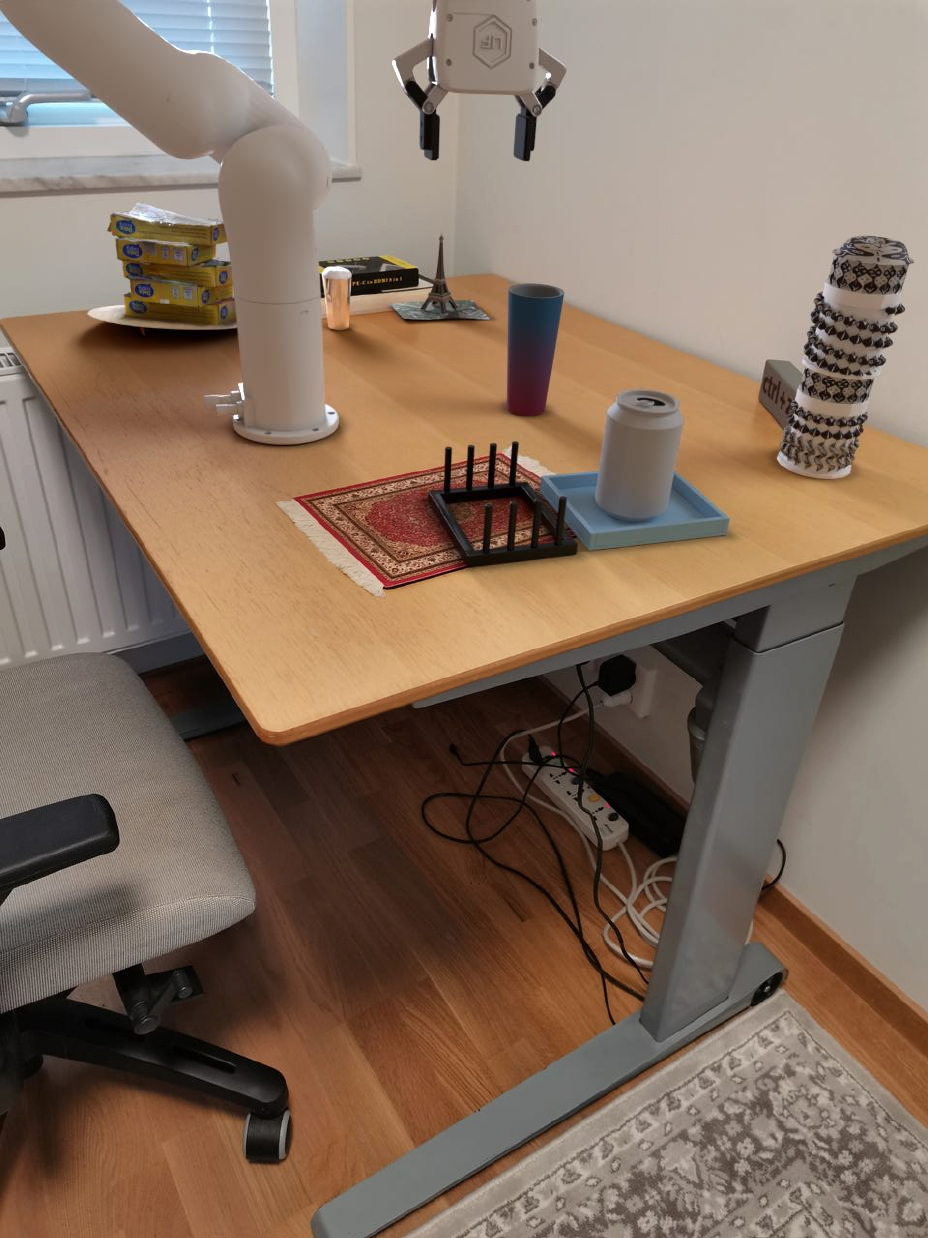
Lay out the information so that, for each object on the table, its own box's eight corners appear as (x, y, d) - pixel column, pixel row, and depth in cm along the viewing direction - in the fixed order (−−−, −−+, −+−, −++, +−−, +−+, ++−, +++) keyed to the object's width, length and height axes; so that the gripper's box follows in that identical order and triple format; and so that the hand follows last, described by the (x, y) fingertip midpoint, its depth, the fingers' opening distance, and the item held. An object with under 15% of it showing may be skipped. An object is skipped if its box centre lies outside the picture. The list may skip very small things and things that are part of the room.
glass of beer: (356, 332, 142) (354, 265, 137) (322, 330, 142) (319, 263, 137) (359, 323, 146) (358, 258, 140) (326, 322, 146) (323, 256, 140)
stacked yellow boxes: (153, 298, 152) (138, 190, 143) (286, 318, 147) (279, 206, 137) (56, 339, 133) (31, 216, 123) (205, 363, 127) (190, 236, 118)
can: (676, 506, 95) (698, 396, 89) (649, 533, 90) (670, 418, 83) (612, 486, 99) (628, 379, 92) (581, 511, 93) (596, 399, 87)
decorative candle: (829, 447, 112) (892, 231, 98) (869, 479, 104) (943, 250, 90) (760, 448, 110) (814, 230, 96) (796, 481, 103) (860, 249, 89)
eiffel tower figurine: (472, 302, 160) (476, 221, 152) (490, 319, 152) (495, 234, 144) (389, 305, 156) (389, 222, 148) (403, 322, 148) (404, 235, 140)
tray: (588, 551, 87) (591, 533, 86) (539, 491, 98) (541, 475, 97) (726, 534, 91) (730, 518, 90) (665, 479, 102) (668, 464, 101)
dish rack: (467, 567, 84) (470, 509, 80) (427, 500, 95) (429, 447, 91) (576, 554, 87) (584, 498, 83) (526, 491, 98) (531, 439, 94)
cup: (548, 421, 115) (561, 299, 106) (495, 414, 116) (504, 294, 107) (554, 402, 120) (567, 286, 112) (504, 397, 121) (512, 280, 113)
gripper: (404, -60, 77) (403, 163, 87) (590, -46, 82) (569, 165, 91) (384, -56, 83) (385, 152, 92) (559, -43, 88) (542, 154, 97)
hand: (476, 158), depth 92 cm, fingers open, 9 cm apart
